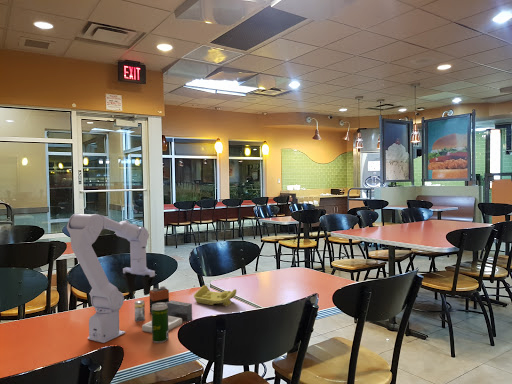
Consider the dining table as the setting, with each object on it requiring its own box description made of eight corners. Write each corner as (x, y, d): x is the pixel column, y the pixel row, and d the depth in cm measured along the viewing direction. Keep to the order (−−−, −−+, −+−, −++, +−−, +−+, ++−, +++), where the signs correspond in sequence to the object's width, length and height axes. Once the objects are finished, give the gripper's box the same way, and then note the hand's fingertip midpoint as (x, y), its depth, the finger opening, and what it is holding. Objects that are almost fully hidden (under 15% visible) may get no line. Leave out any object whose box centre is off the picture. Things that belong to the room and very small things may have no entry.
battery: (169, 311, 157) (169, 287, 156) (153, 315, 153) (152, 290, 152) (165, 308, 160) (164, 285, 160) (149, 312, 156) (148, 288, 156)
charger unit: (187, 321, 145) (186, 306, 145) (166, 317, 150) (166, 302, 149) (192, 318, 148) (192, 303, 148) (172, 315, 152) (171, 300, 152)
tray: (161, 334, 133) (160, 329, 133) (142, 330, 137) (142, 325, 137) (182, 323, 143) (182, 318, 143) (164, 319, 147) (164, 314, 147)
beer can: (169, 336, 132) (168, 301, 131) (167, 343, 126) (166, 306, 126) (153, 337, 131) (152, 302, 131) (150, 344, 126) (150, 307, 125)
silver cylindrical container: (139, 322, 145) (139, 303, 145) (132, 320, 147) (132, 302, 147) (146, 319, 149) (146, 301, 148) (139, 317, 150) (139, 299, 150)
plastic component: (191, 296, 169) (206, 282, 175) (198, 310, 171) (212, 295, 178) (223, 302, 156) (237, 286, 163) (230, 316, 158) (244, 300, 165)
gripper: (160, 257, 147) (160, 292, 148) (132, 254, 154) (132, 288, 154) (147, 261, 141) (147, 298, 142) (118, 258, 148) (119, 293, 148)
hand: (139, 293), depth 148 cm, fingers open, 7 cm apart
